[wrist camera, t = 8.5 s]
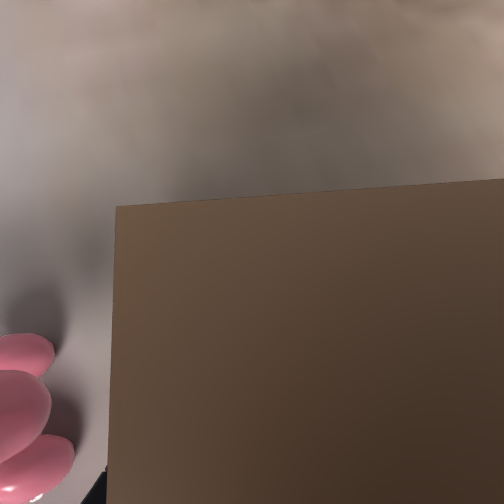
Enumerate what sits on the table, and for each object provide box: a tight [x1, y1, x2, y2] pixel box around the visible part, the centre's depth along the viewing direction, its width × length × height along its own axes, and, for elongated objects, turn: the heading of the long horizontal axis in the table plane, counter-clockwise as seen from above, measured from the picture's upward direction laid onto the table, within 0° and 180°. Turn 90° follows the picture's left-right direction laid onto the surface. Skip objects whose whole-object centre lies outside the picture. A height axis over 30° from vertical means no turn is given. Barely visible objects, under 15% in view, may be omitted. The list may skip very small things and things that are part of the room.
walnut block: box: [106, 179, 504, 504], centre depth 9 cm, size 5×5×13 cm
